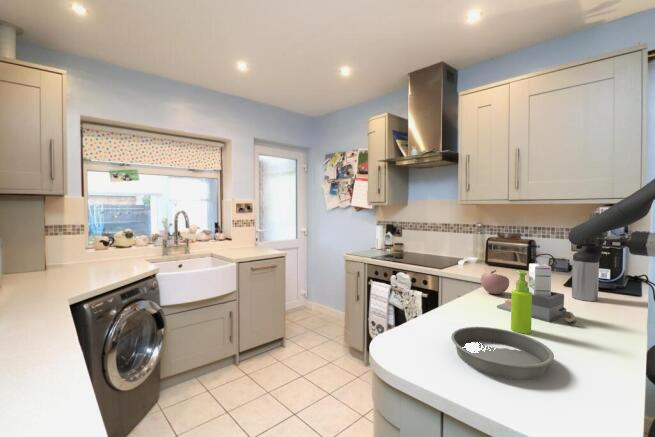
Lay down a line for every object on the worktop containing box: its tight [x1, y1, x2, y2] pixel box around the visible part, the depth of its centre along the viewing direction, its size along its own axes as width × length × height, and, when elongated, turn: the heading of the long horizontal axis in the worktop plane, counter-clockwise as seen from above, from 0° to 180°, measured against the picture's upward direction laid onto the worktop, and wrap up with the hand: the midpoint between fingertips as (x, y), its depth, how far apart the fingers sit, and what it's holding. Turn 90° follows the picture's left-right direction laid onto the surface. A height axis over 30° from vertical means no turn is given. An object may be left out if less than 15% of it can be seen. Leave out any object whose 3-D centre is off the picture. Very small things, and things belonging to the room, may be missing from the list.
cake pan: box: [450, 326, 555, 380], centre depth 86 cm, size 25×25×4 cm
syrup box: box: [528, 262, 552, 297], centre depth 121 cm, size 6×6×14 cm
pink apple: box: [480, 269, 510, 295], centre depth 150 cm, size 12×12×12 cm
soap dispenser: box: [510, 270, 533, 335], centre depth 106 cm, size 6×7×20 cm
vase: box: [559, 307, 581, 327], centre depth 111 cm, size 5×5×6 cm
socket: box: [496, 287, 565, 323], centre depth 124 cm, size 12×19×8 cm, turn 32°
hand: (588, 239), depth 112 cm, fingers open, 8 cm apart
